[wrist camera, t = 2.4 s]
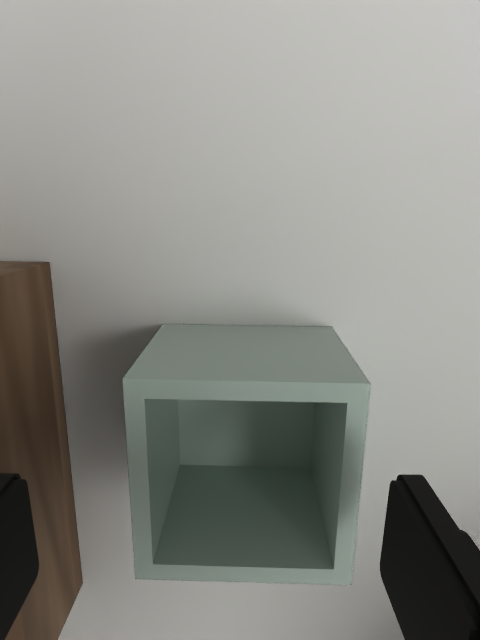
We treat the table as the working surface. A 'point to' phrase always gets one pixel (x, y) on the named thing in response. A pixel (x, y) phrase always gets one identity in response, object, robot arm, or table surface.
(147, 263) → the table surface
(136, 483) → the small crate
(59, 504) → the big crate
